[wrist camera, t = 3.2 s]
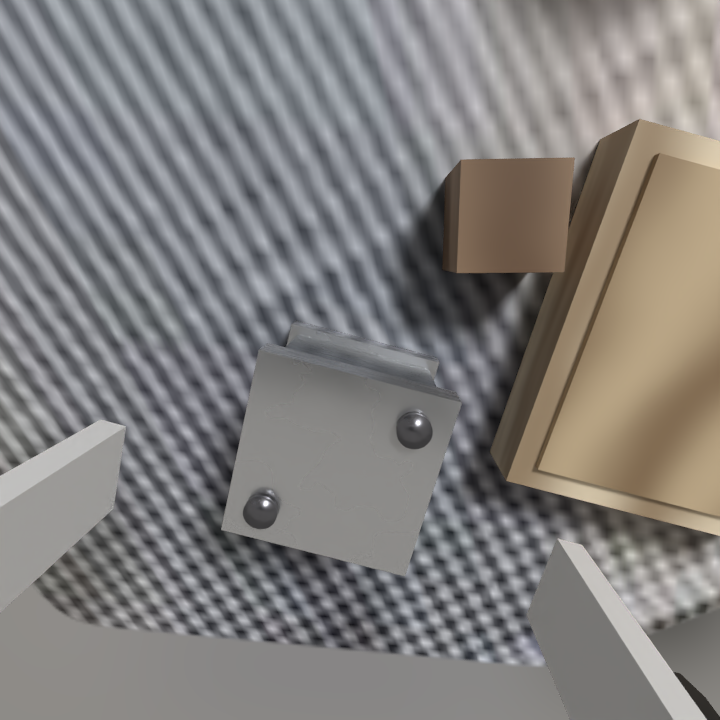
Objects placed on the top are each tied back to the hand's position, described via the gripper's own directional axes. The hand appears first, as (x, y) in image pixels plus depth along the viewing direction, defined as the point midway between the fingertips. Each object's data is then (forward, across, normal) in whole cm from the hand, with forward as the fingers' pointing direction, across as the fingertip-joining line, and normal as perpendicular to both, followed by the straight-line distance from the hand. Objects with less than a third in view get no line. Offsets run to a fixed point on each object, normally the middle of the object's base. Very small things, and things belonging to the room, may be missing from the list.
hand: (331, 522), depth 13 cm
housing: (+10, 0, 0) cm, 10 cm away
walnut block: (+10, +4, +10) cm, 15 cm away
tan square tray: (+10, +14, +8) cm, 18 cm away
